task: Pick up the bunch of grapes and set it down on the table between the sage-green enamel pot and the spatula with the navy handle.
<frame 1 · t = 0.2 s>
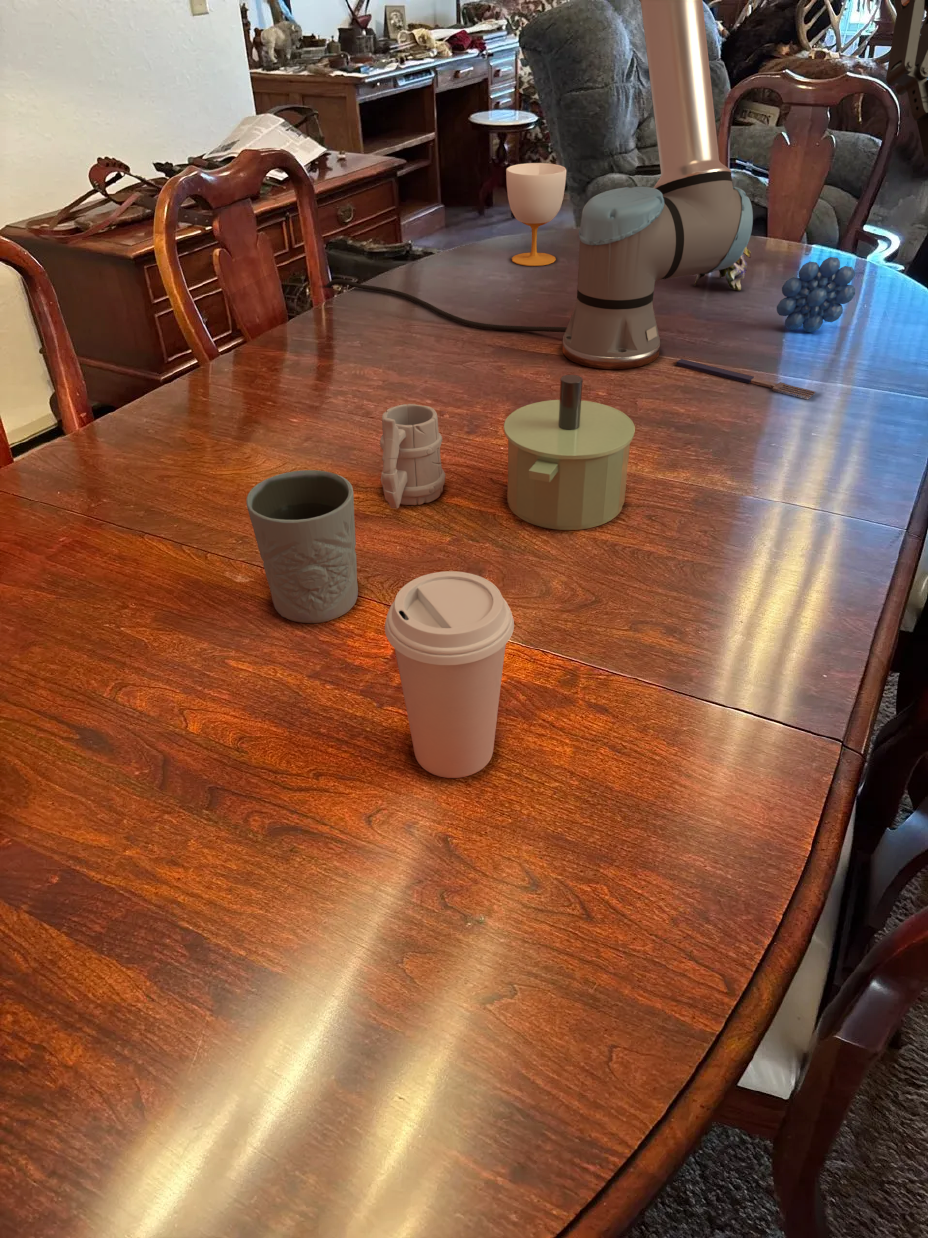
pot lid: (568, 429, 103), point 9 cm above the table, touching pot
cup: (533, 260, 189), on the table
mug: (408, 500, 110), on the table
pot: (564, 500, 109), on the table
embossed gray tumbler: (314, 599, 94), on the table
grapes: (808, 331, 153), on the table
spatula: (738, 378, 137), on the table
passion flower: (714, 288, 172), on the table
coffee cup: (453, 751, 76), on the table
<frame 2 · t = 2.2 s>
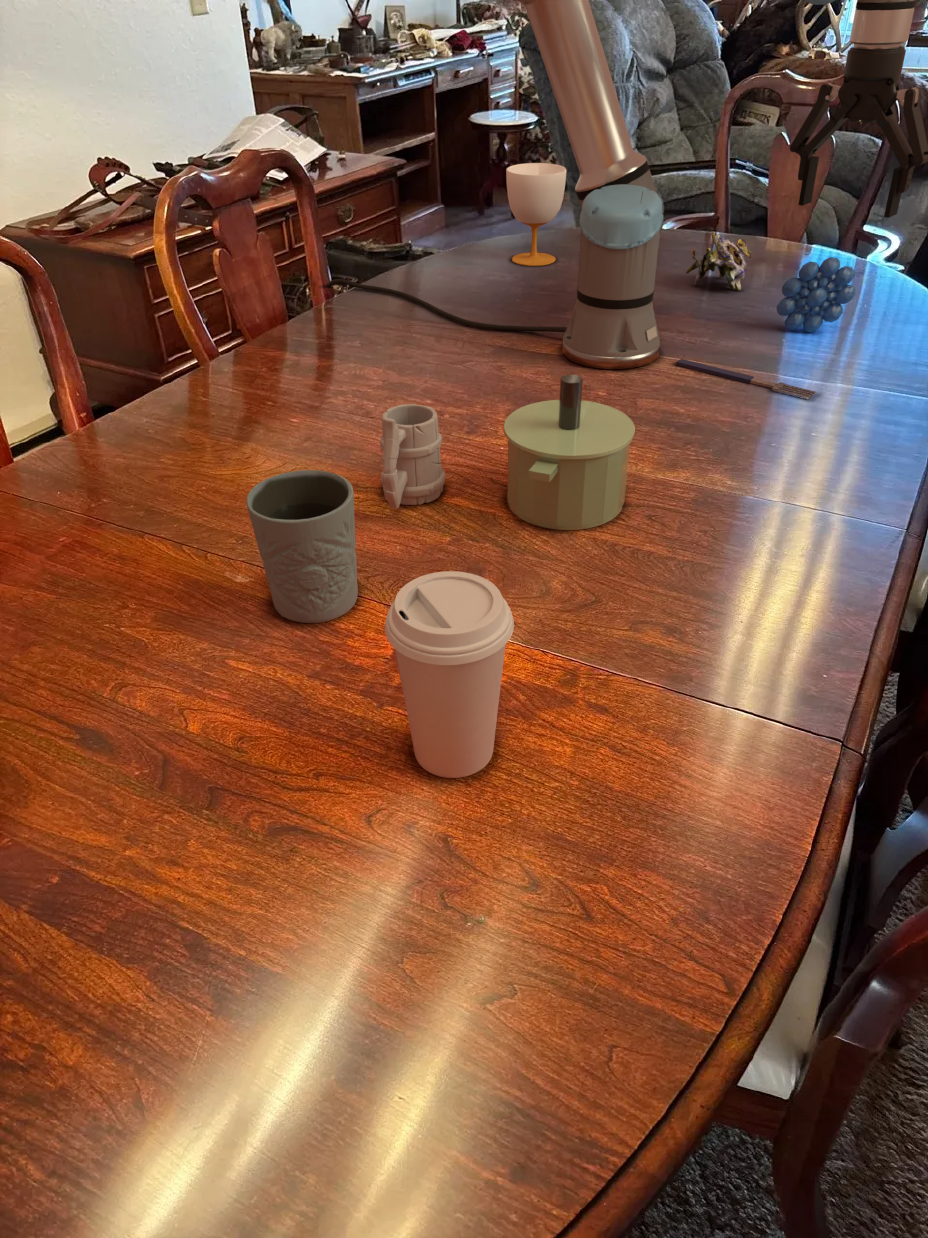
hand: (846, 209, 140), 19 cm above the table, tool pointing down, fingers open, 13 cm apart
nothing on the table moved.
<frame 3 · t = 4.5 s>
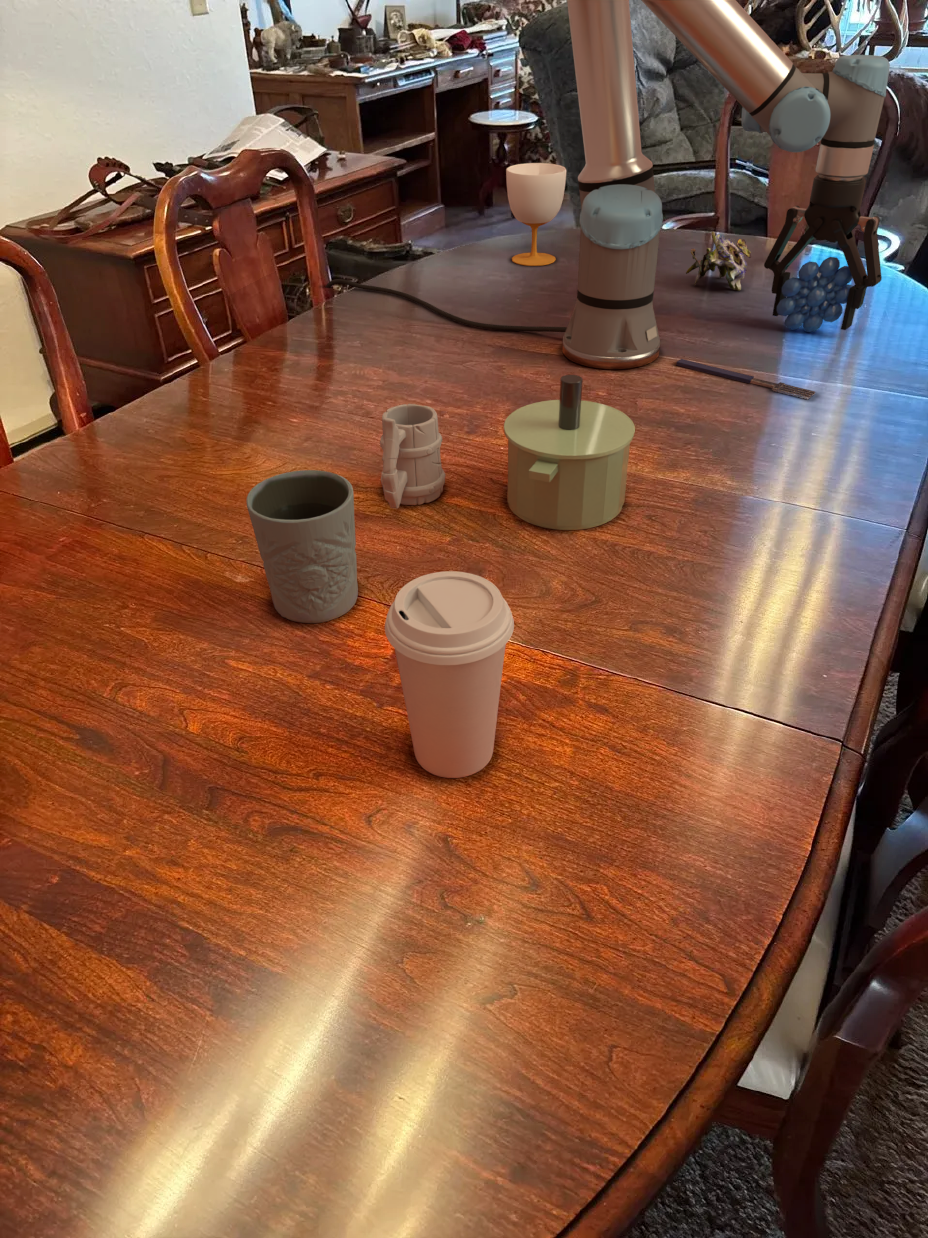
hand: (811, 320, 152), 2 cm above the table, tool pointing down, fingers open, 11 cm apart
grapes: (807, 331, 153), on the table, touching gripper
everything else where it was.
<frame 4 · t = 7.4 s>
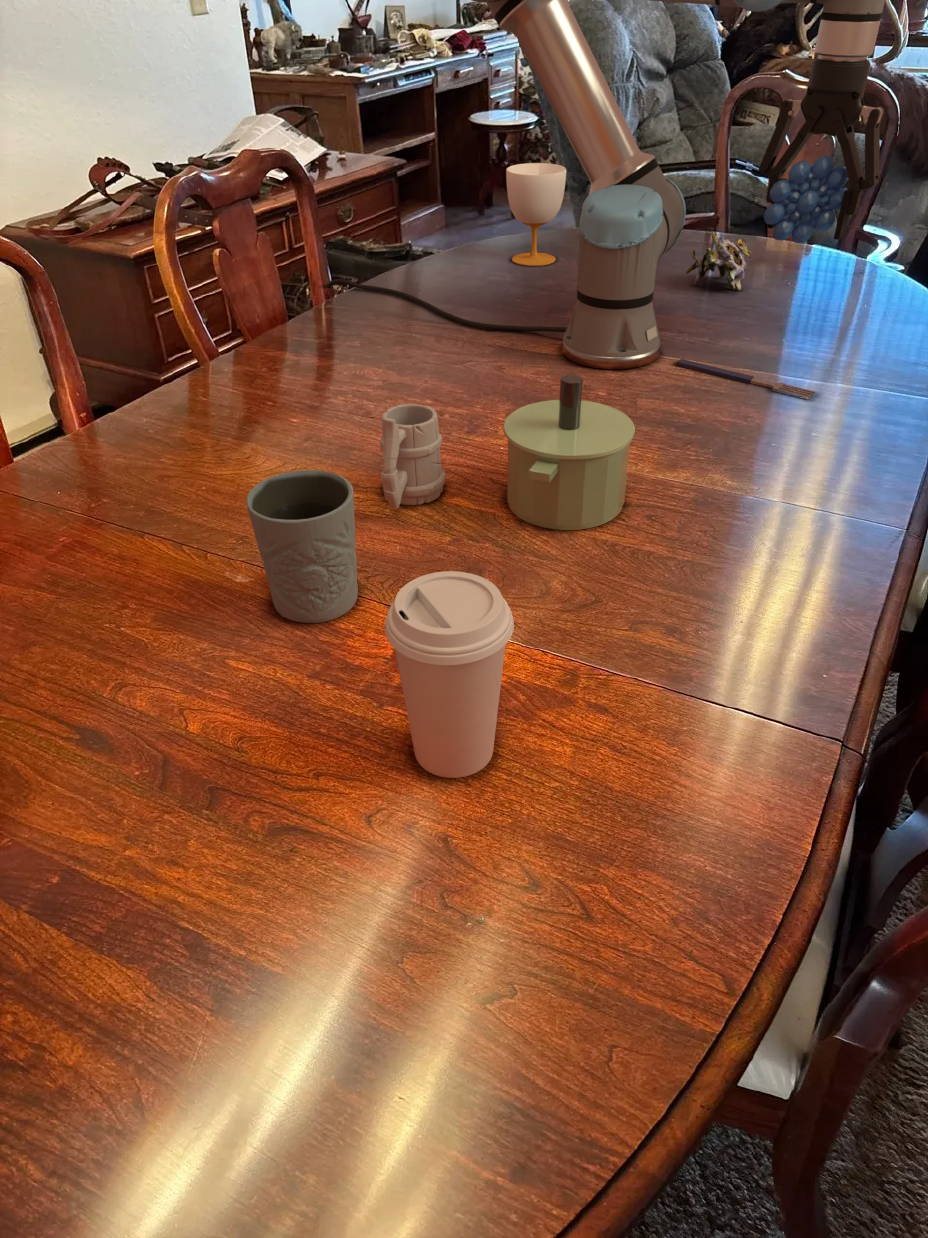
hand: (805, 231, 138), 17 cm above the table, tool pointing down, fingers closed on grapes, 9 cm apart
grapes: (796, 243, 139), point 15 cm above the table, touching gripper
everything else where it was.
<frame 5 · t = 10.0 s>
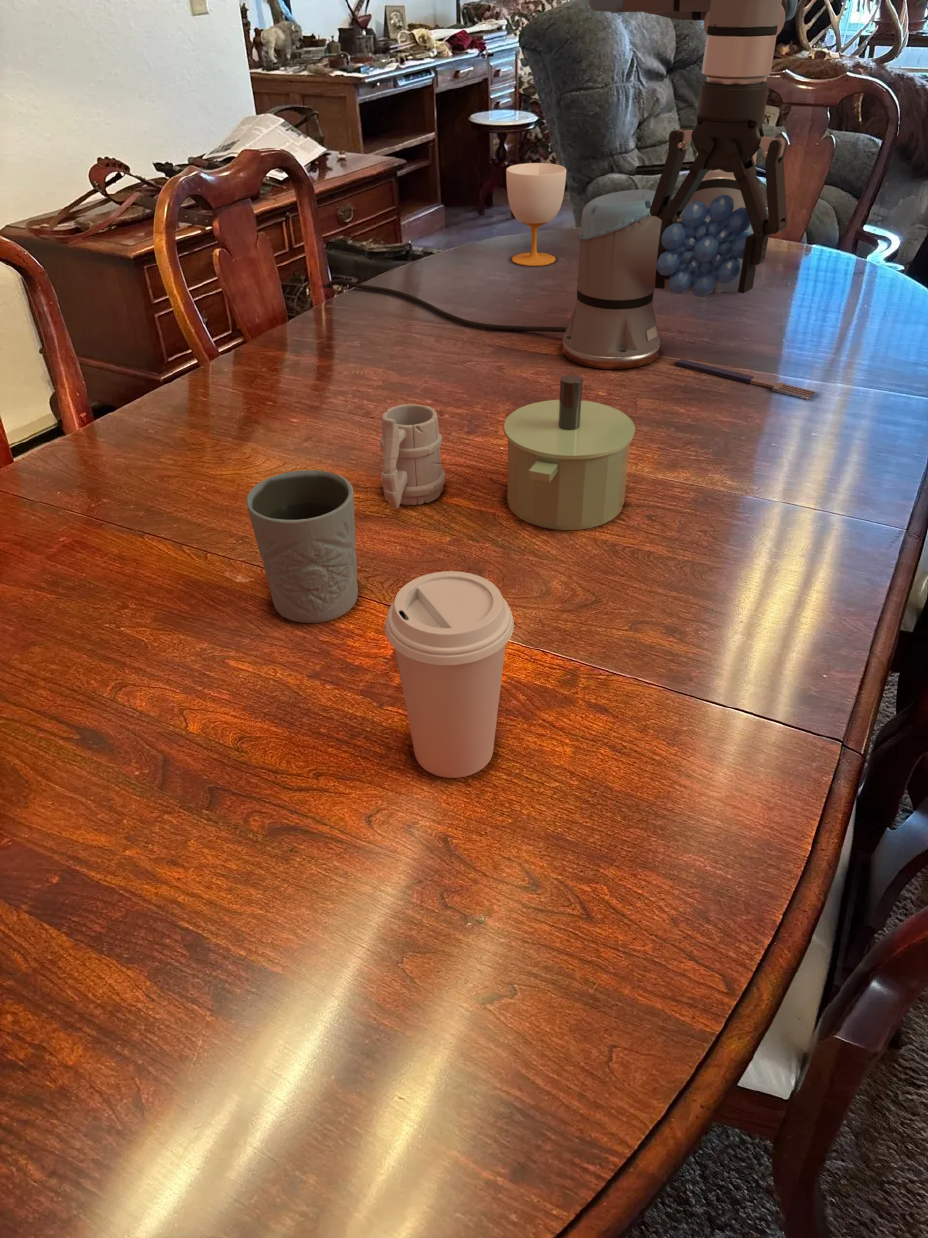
hand: (707, 283, 116), 18 cm above the table, tool pointing down, fingers closed on grapes, 9 cm apart
grapes: (698, 296, 118), point 16 cm above the table, touching gripper
everything else where it was.
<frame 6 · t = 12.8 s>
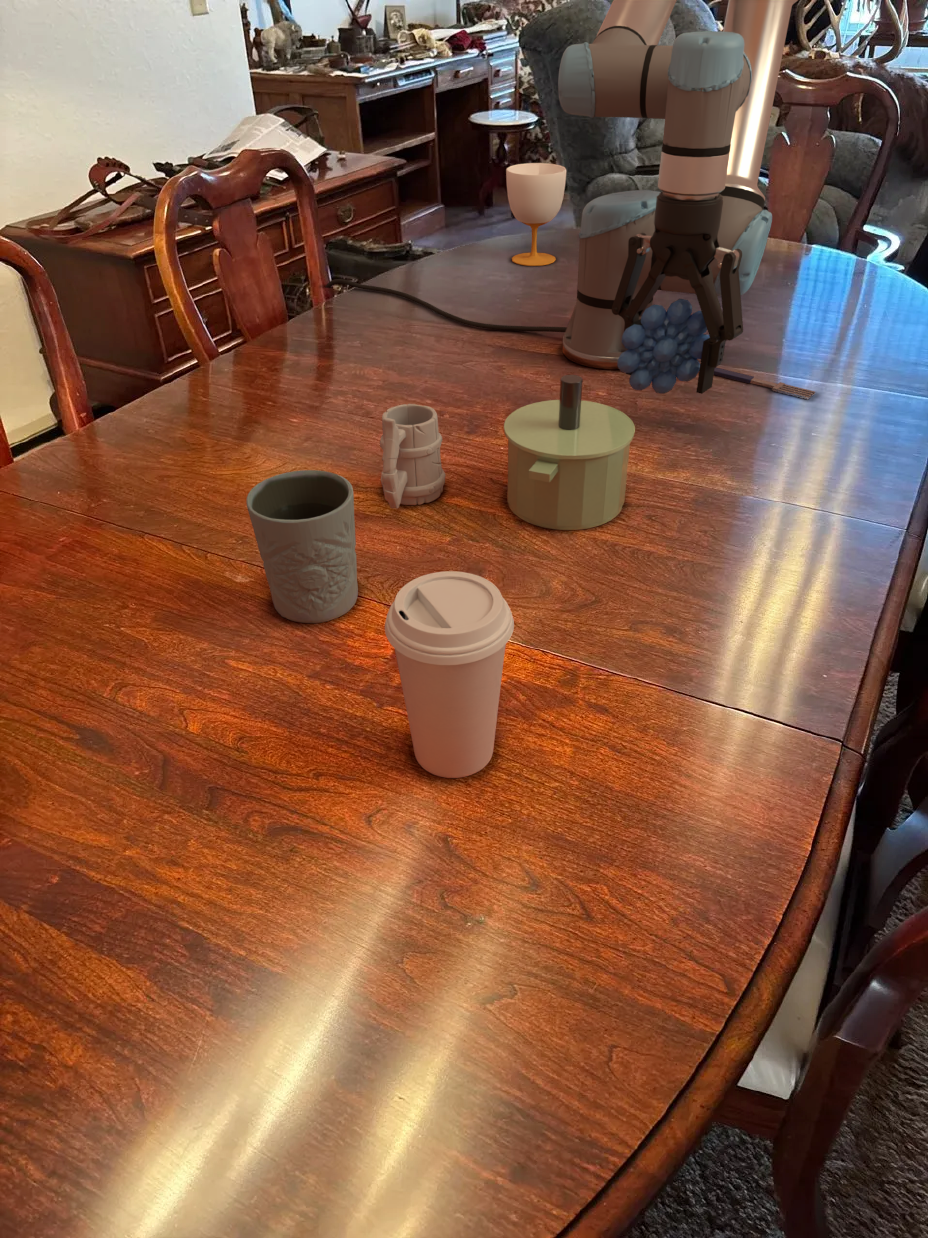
hand: (667, 380, 118), 7 cm above the table, tool pointing down, fingers closed on grapes, 9 cm apart
grapes: (659, 392, 120), point 6 cm above the table, touching gripper
everything else where it was.
when the fingers open (1 cm above the table, at t = 14.7 s): grapes stays where it is, on the table.
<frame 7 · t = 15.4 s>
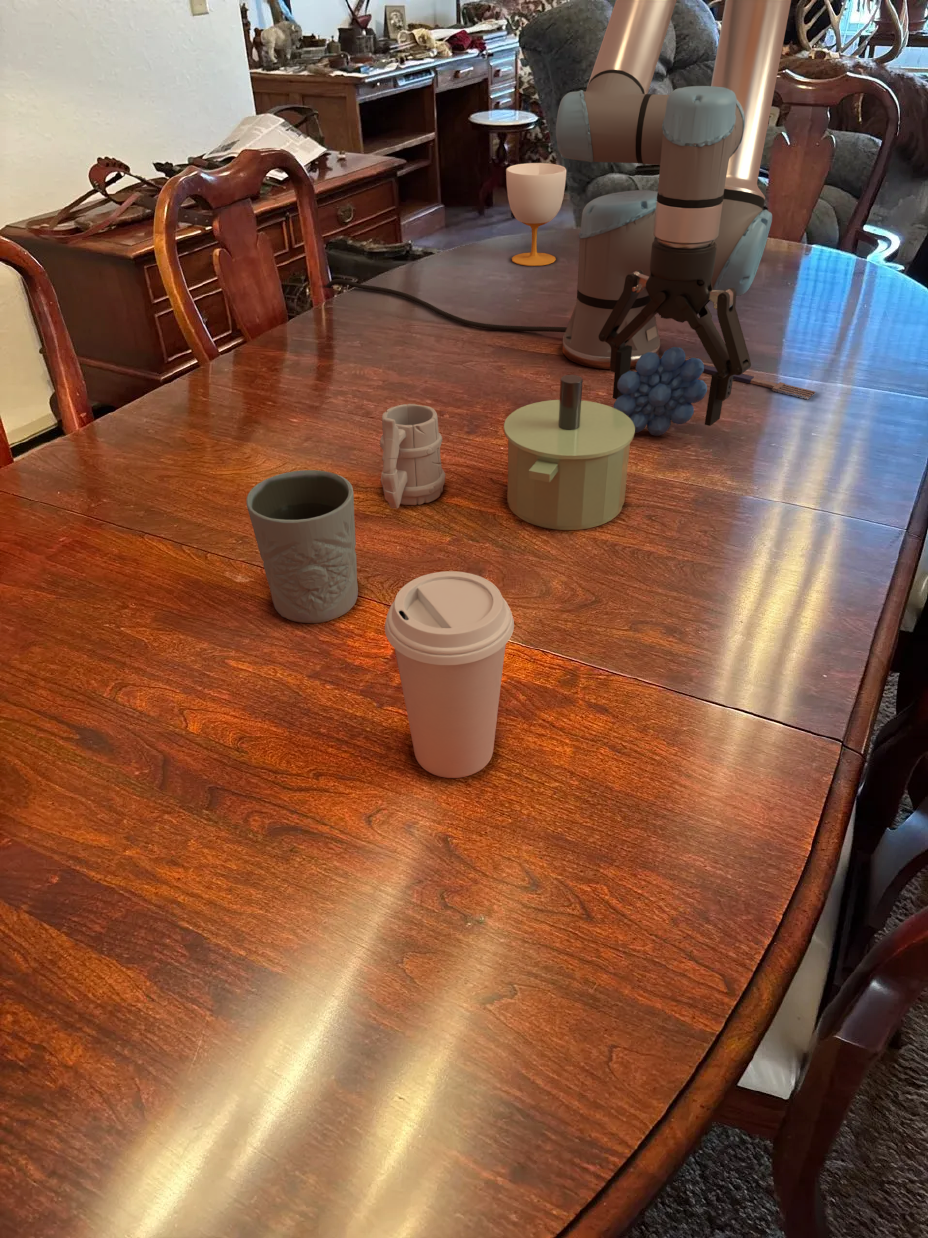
hand: (664, 408, 121), 3 cm above the table, tool pointing down, fingers open, 13 cm apart
grapes: (654, 433, 123), on the table
everything else where it was.
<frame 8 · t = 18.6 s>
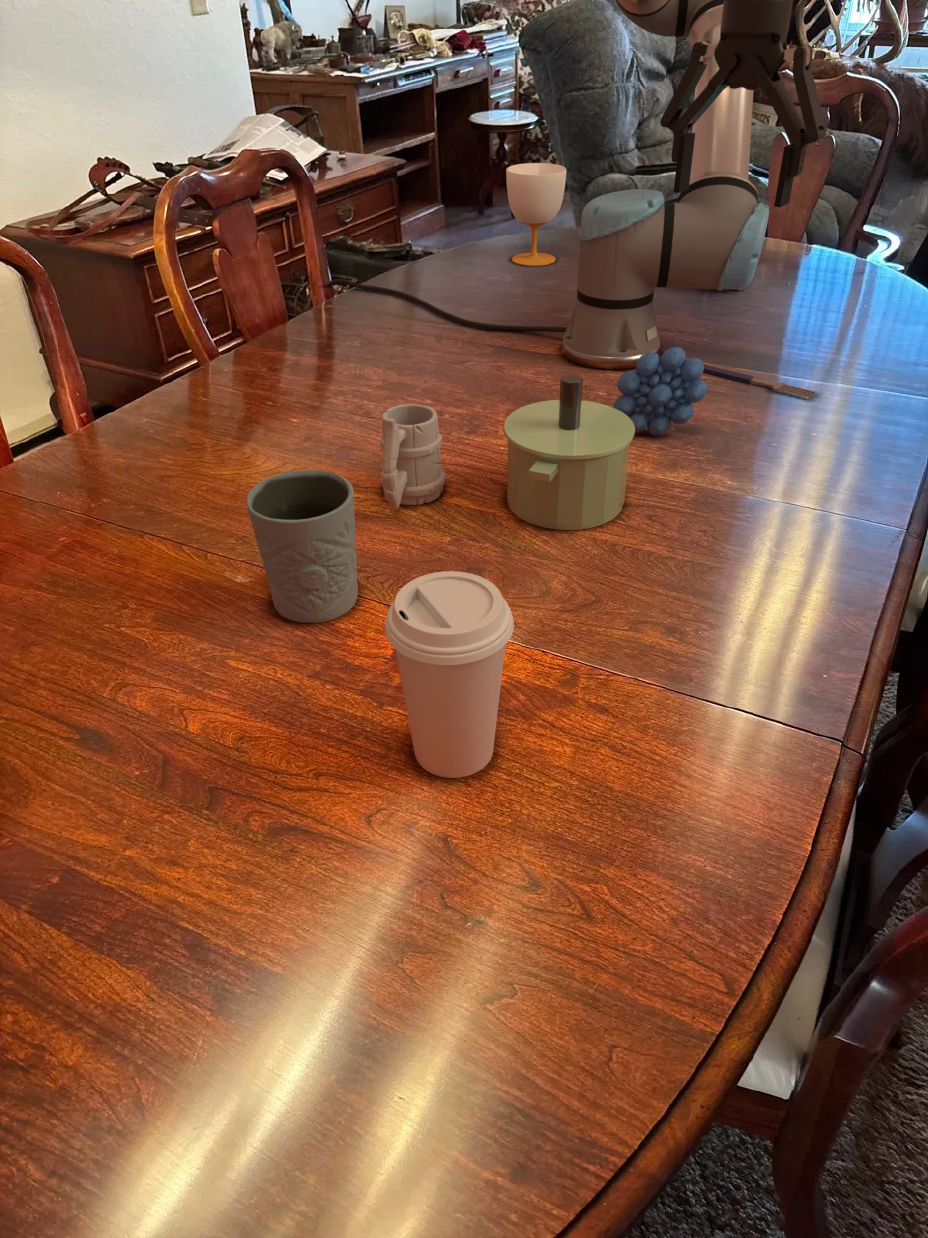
hand: (729, 197, 115), 27 cm above the table, tool pointing down, fingers open, 13 cm apart
nothing on the table moved.
at the end: grapes inside the target area on the table beside the pot (0.9 cm from its centre), on the table; the gripper is holding nothing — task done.
